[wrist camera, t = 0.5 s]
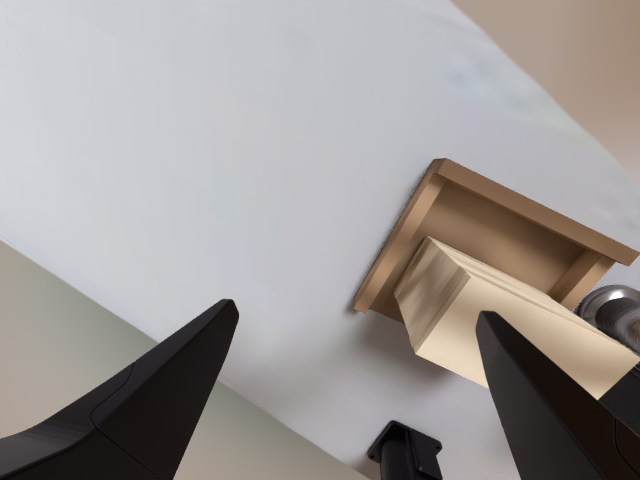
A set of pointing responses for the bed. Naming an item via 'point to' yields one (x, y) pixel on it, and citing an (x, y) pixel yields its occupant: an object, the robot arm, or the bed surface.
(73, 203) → the bed surface
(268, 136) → the bed surface
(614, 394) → the small box
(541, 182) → the bed surface
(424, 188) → the bay
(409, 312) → the pale wooden box
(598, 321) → the flanged metal cylinder
